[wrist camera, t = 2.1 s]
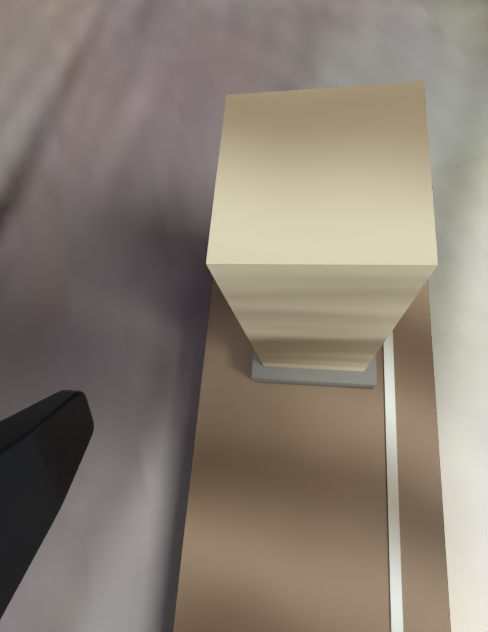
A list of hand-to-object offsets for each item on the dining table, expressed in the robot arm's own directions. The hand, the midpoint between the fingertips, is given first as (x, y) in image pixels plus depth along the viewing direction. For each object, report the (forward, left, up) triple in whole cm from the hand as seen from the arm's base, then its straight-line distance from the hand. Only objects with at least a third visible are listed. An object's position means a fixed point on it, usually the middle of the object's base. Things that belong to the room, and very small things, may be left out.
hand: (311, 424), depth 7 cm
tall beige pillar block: (+4, -3, -10) cm, 11 cm away
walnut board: (-2, +2, -11) cm, 12 cm away
